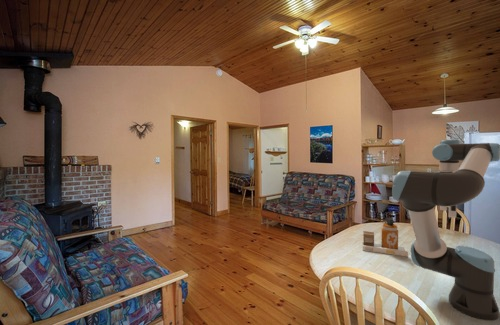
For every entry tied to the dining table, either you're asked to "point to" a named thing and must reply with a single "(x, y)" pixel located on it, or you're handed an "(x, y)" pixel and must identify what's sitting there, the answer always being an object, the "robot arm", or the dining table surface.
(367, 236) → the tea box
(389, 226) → the canister
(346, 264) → the dining table surface
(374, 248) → the shelf board
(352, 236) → the dining table surface
